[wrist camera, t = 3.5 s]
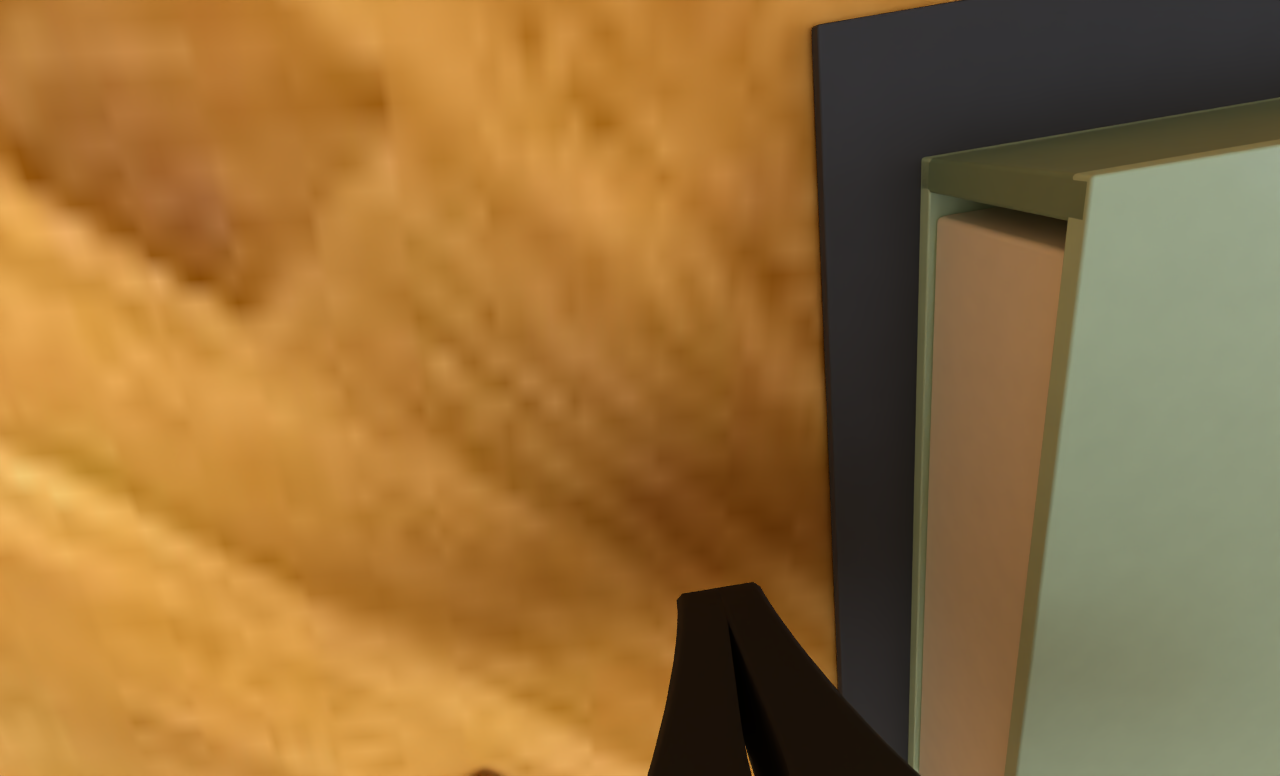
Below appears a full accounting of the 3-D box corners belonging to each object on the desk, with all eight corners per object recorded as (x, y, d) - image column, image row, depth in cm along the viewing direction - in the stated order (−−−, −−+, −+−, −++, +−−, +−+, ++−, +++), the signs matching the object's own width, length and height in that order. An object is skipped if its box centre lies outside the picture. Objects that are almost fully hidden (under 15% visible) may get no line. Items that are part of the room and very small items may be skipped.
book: (1578, 46, 9) (2110, 5, 6) (1321, 704, 15) (1526, 869, 12) (920, 157, 9) (1093, 176, 6) (907, 771, 15) (993, 954, 12)
